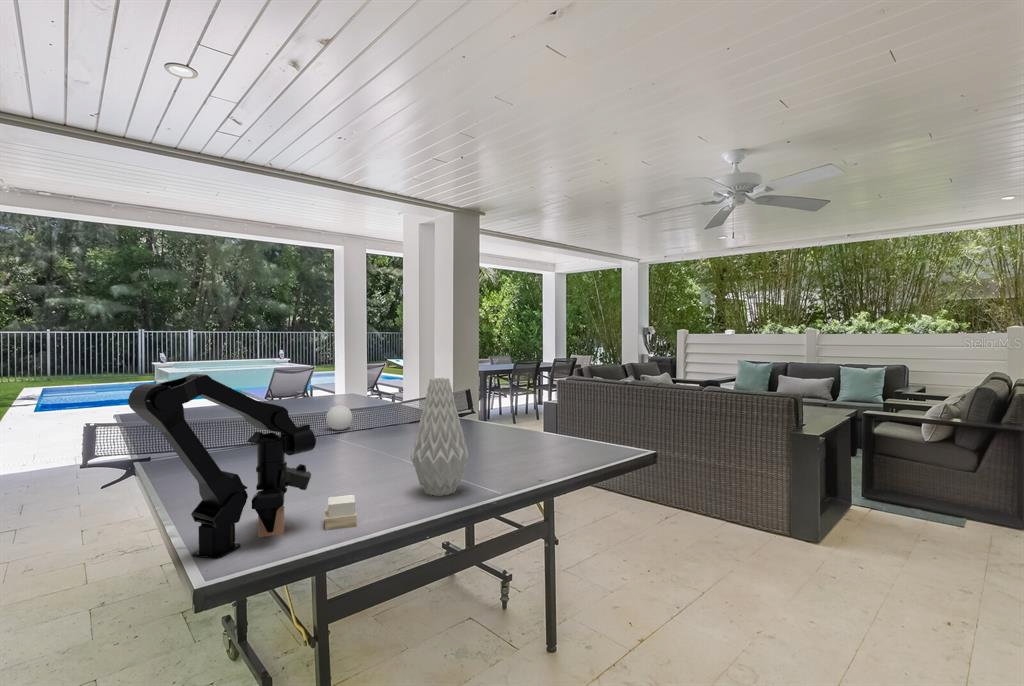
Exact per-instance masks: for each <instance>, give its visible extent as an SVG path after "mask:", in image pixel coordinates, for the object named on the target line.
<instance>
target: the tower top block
mask: <svg viewBox="0 0 1024 686" xmlns="http://www.w3.org/2000/svg"><path fill="white" fill-rule="evenodd" d="M327 503H328V506H327V507H328V508H327V509H328V518H329V517H338V516H347V515H355V510H356V497H355V494H349V495H341V496H340V495H339V496H329V497H328V502H327Z"/></svg>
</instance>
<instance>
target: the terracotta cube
mask: <svg viewBox="0 0 1024 686" xmlns="http://www.w3.org/2000/svg"><path fill="white" fill-rule="evenodd" d="M257 515H258V514H257ZM257 519H258V521H257V522H258V538H262V537H270V536H279V535H284V532H285V524H286V523H285V505H283V506H282V507H280V508H279V509H278V510H277V514H276V519H275V524H274V530H273V532H270V533H268V532H267V530H266V528H265V526H264V524H263V523H262V521H261V519H260V517H259V515H258V518H257Z"/></svg>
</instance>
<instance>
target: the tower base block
mask: <svg viewBox="0 0 1024 686" xmlns="http://www.w3.org/2000/svg"><path fill="white" fill-rule="evenodd" d="M324 525H325V526H324V530H325V531H329V530H337V529H344V528H352V527H353V528H354V527H357V510H356V509H355V515H347V516H338V517H329V518H328V508H327V509H326V508H325V509H324Z"/></svg>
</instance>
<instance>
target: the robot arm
mask: <svg viewBox="0 0 1024 686" xmlns="http://www.w3.org/2000/svg"><path fill="white" fill-rule="evenodd" d="M198 397H201V398H203V399H205V400H207V401H209V402H212V403H214V404H216V405H218V406H220V407H222V408H225V409H227V410H229V411H231V412H234V413H236V414H238V415H239V416H241V417H243V418H244V420H245V421H246V422H247V423H248V424H250V426H251V425H252V426H253V427H254V428H256V429H258V430H262V431H269V432H267V433H263V432H262V431H254V433H253V435H251V436H250V437H249V438H248V439H247V443H250V444H256V445H257V446H256V451H257V453H256V454H257V456H256V457H257V460H256V461H257V463H256V464H257V466H256V467H255V472H256V473H257V484H256V488H255V489H256V491H257V492H256V493H255V494H254V495H253V496H252V498H251V509H252V510H255V512H256V514H257V515H259V517H260V519H261V521H262V523H263V524H264V526H265V528H266V530H267V532H268V533H270V532H273V530H274V524H275V519H276V514H277V510H278V509H279V508H280V507H282V506H285V494H286V493H287V492H288V488H287V487H292V488H298V489H299V490H302V491H306V490H307V489H308V486H309V483H310V480H311V477H312V473H311V472H310V471H307V465H306V464H301V463H299V464H298V465H296V467H288V465H287V464H288V462H287V461H286V460H285V459H286V457H285V456H286V455H287V456H289V457H290V456H293V455H299V454H303V453H307V452H311V451H313V450H314V449H315V448H316V446H317V445H316V443H317V440H316V439H317V438H316V436H315V433H314V432H313V430H312V429H311V425H310V424H307V423H303V424H302V423H301V424H298V425H296V424H295V423H294V421H293V420H292V419H291V417H290V416H289V410H288V409H287V408H286V407H284V406H281V405H278V404H273V403H270V402H266V401H260V400H257V399H254V398H253V397H250V396H249V395H246V394H244V393H243V392H239V391H238V390H236V389H233V388H231V387H229V386H228V385H226V384H223V383H221V382H219V381H217V380H216V379H213V378H212V377H211V376H209V375H207V374H203V373H202V374H201V373H192V374H188V375H187V376H183V377H181V378H175V379H172V380H168V381H164V382H159V383H156V384H155V383H154V384H153V383H143V384H139V385H137V386H136V387H134V388H133V389H132V391H131V392H130V393H129V396H128V399H127V404H128V406H129V408H130V409H131V410H132V411H133V412H134V413H135V414H136V415H138V416H139V417H140V418H141V419H142V420H144V421H145V422H146V423H148V424H149V425H150V426H152V427H153V428H155V429H157V430H158V431H159V432H160V433H161V434H162V436H163V438H164V439H165V440H166V442H167V443H168V444H169V446H170V447H171V448H172V449H173V450H174V452H175V454H176V455H177V456H178V458H179V459H180V460H181V461H182V463H183V464H184V465H185V467H186V468H187V470H188V471H189V472H190V473H191V475H192V476H193V477H194V479H195V480H196V482H197V484H198V490H199V496H200V498H201V499H202V500H200V502H199V503H198V505H197V506H195V508H194V509H193V510H192V512H191V514H190V515H191V517H192V520H193V522H195V523H199V524H200V525H199V526H198V550H196V551H194V552H192V555H191V556H192V557H199V558H200V557H202V558H210V559H219V558H222V557H224V556H226V555H228V554H229V553H231V552H233V551H235V550H237V549H238V548H240V547H241V545H242V544H241V543H239V542H238V543H237V542H236V524H237V523H239V522H240V520H241V517H242V514H243V511H244V508H245V506H246V504H247V500H248V498H249V496H248V493H247V489H248V487H249V486H246V485H245V483H243V481H242V480H241V477H240V476H239V474H238V473H234V472H228V471H225V470H221V468H220V466H218V464H217V462H216V461H215V460H214V458H213V457H212V456H211V455H210V453H209V451H208V450H207V449H206V447H205V446H204V444H203V443H202V441H201V440H200V439H199V437H198V436H197V435H196V434H195V431H193V429H192V427H191V426H190V425H189V423H188V422H187V421H186V419H185V417H186V416H185V409H184V404H187V403H189V402H191V401H192V400H194V399H196V398H198ZM275 432H276V433H275ZM277 433H280V434H277Z"/></svg>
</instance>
